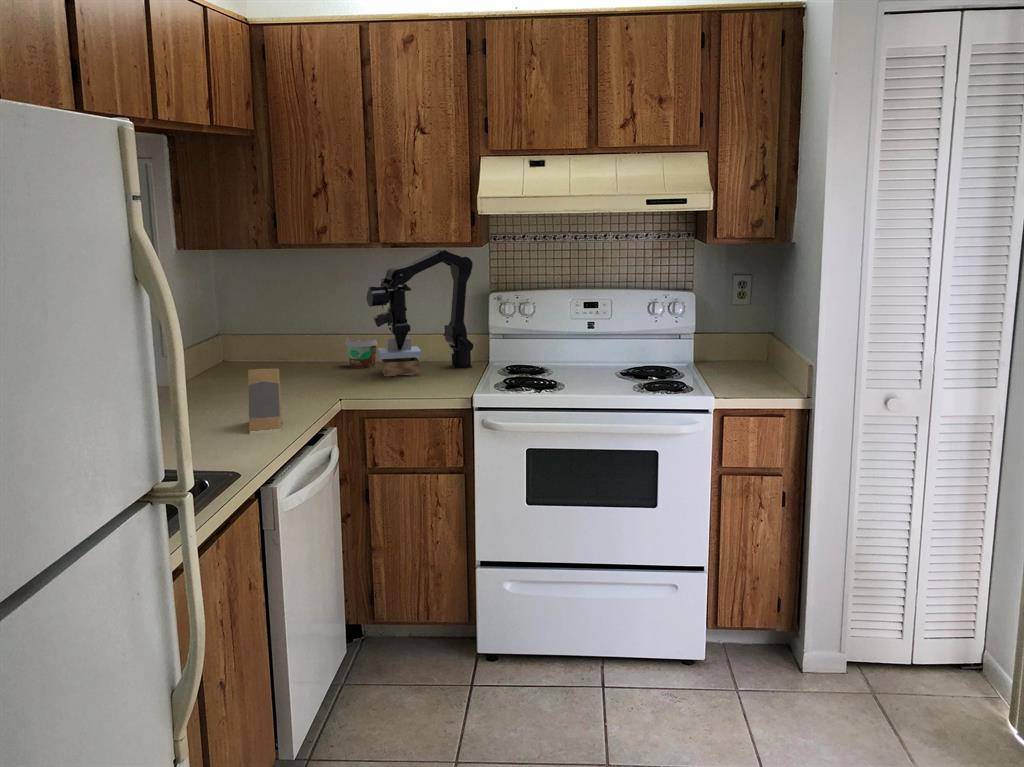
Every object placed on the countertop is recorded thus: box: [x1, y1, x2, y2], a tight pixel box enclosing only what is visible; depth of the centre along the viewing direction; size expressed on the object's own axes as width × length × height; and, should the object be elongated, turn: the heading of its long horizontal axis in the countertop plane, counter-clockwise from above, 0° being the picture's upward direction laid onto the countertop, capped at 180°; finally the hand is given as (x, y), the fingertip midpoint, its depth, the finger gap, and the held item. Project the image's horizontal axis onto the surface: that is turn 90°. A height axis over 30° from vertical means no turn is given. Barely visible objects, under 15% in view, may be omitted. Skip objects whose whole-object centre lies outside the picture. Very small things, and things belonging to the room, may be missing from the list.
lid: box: [377, 336, 423, 360], centre depth 323 cm, size 14×11×6 cm
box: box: [381, 357, 420, 377], centre depth 324 cm, size 12×9×5 cm
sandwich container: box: [247, 368, 283, 432], centre depth 253 cm, size 9×15×15 cm, turn 12°
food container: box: [345, 338, 379, 369], centre depth 337 cm, size 12×6×10 cm, turn 73°
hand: (399, 349), depth 323 cm, fingers closed on lid, 2 cm apart
